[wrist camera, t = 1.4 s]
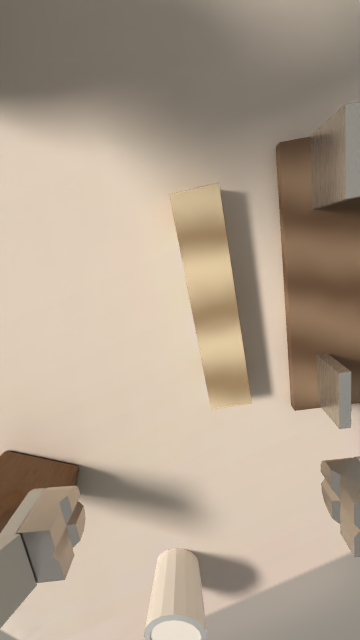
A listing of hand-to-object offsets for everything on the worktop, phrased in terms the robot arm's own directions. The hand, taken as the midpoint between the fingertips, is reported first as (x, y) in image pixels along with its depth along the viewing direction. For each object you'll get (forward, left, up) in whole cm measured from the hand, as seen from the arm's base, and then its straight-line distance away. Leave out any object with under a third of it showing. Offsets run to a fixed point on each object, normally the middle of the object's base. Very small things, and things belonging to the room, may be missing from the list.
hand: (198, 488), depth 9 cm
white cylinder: (+32, -7, -19) cm, 38 cm away
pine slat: (-2, +2, -19) cm, 19 cm away
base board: (-2, +15, -19) cm, 24 cm away
